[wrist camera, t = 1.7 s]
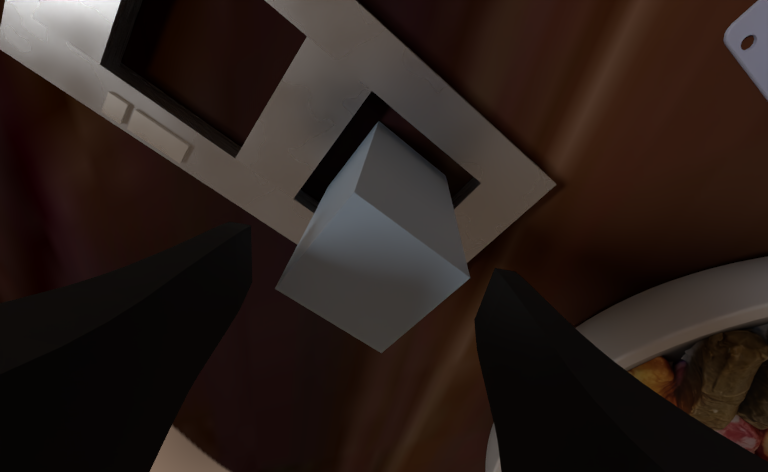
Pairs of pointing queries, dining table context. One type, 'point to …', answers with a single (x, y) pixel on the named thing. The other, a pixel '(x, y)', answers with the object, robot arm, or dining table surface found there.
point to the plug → (379, 244)
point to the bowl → (695, 349)
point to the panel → (281, 109)
